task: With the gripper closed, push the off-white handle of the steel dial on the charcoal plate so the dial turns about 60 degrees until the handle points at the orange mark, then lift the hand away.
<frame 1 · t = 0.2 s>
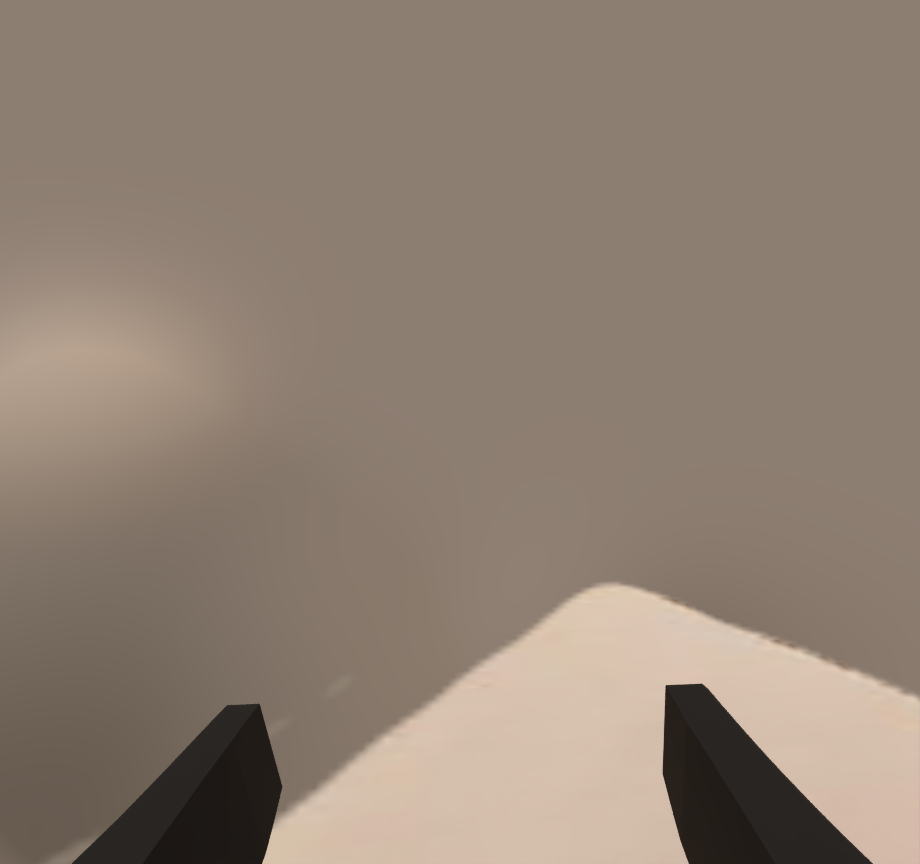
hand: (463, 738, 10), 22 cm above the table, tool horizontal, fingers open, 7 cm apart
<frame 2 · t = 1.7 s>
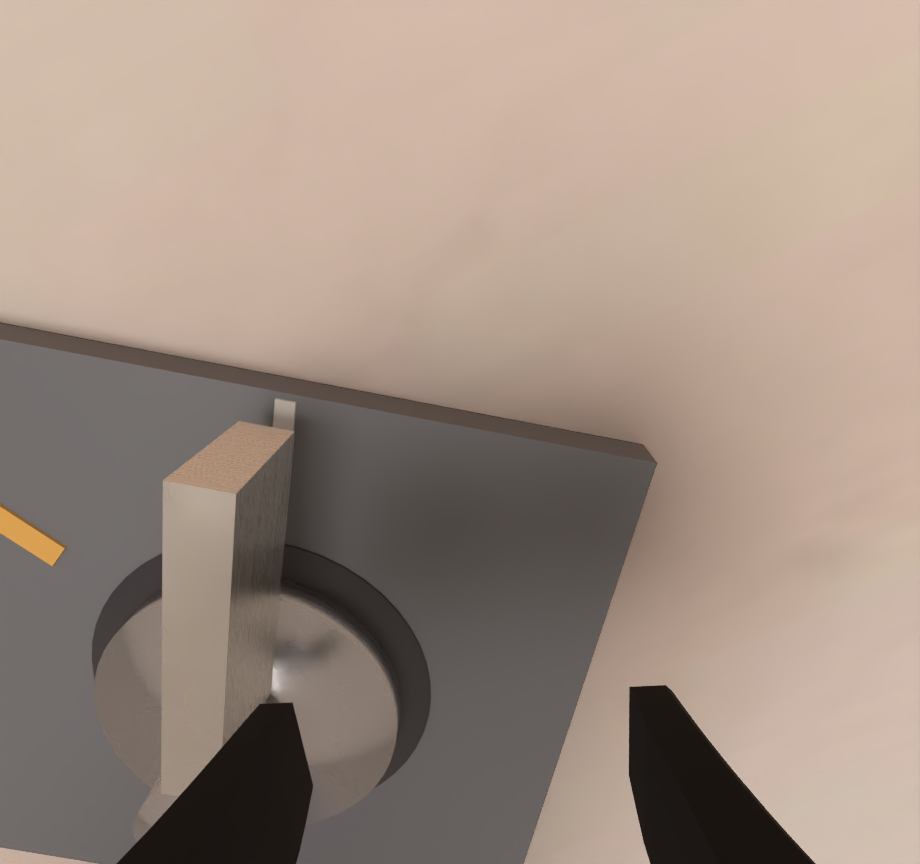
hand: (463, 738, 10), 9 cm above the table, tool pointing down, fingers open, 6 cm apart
dial: (232, 688, 16), point 4 cm above the table, hinge at 0.0°
dial plate: (276, 656, 21), on the table
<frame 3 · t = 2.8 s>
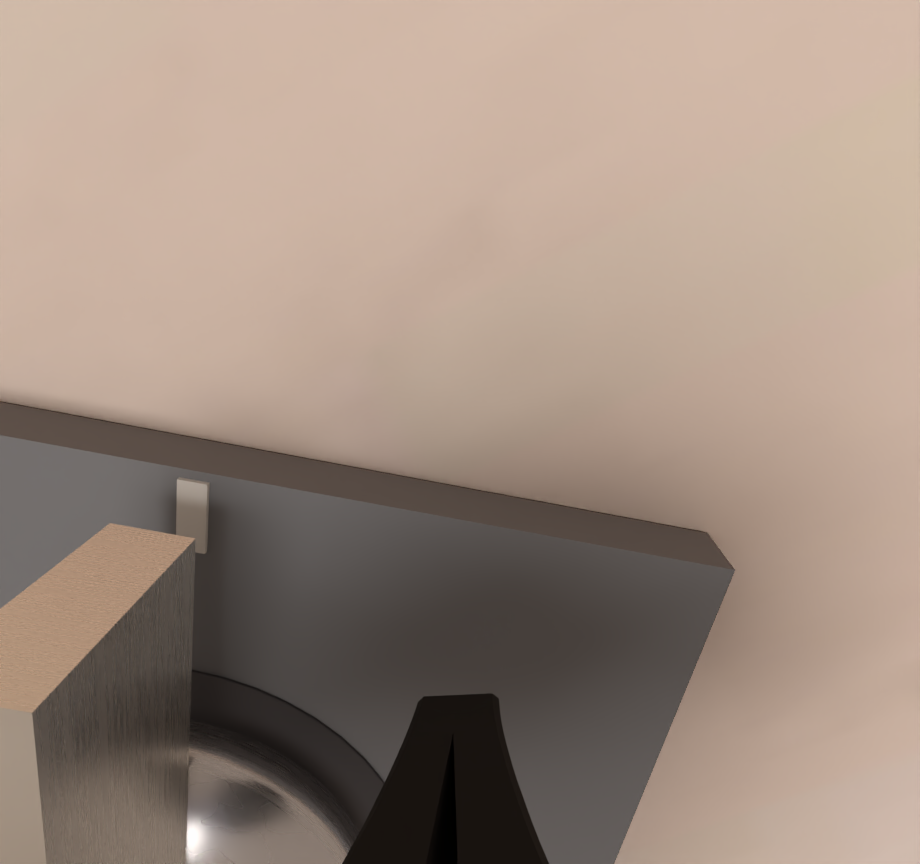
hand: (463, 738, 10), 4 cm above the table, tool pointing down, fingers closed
dial plate: (210, 794, 16), on the table
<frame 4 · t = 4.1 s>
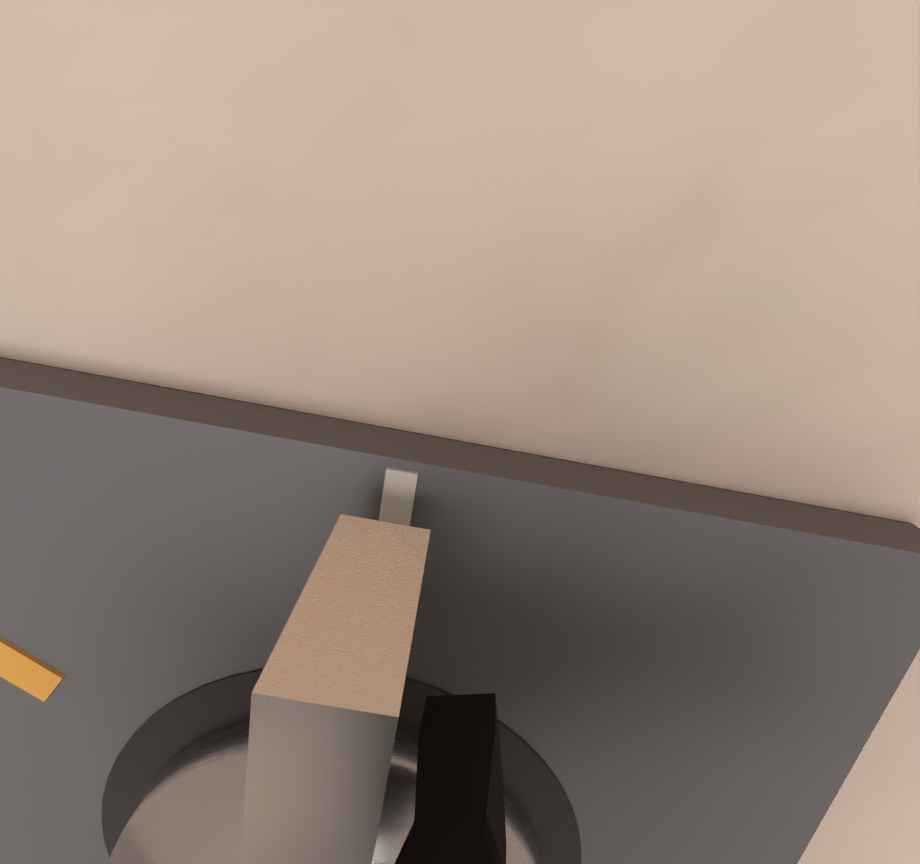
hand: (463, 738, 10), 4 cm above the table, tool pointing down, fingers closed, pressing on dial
dial plate: (354, 798, 16), on the table
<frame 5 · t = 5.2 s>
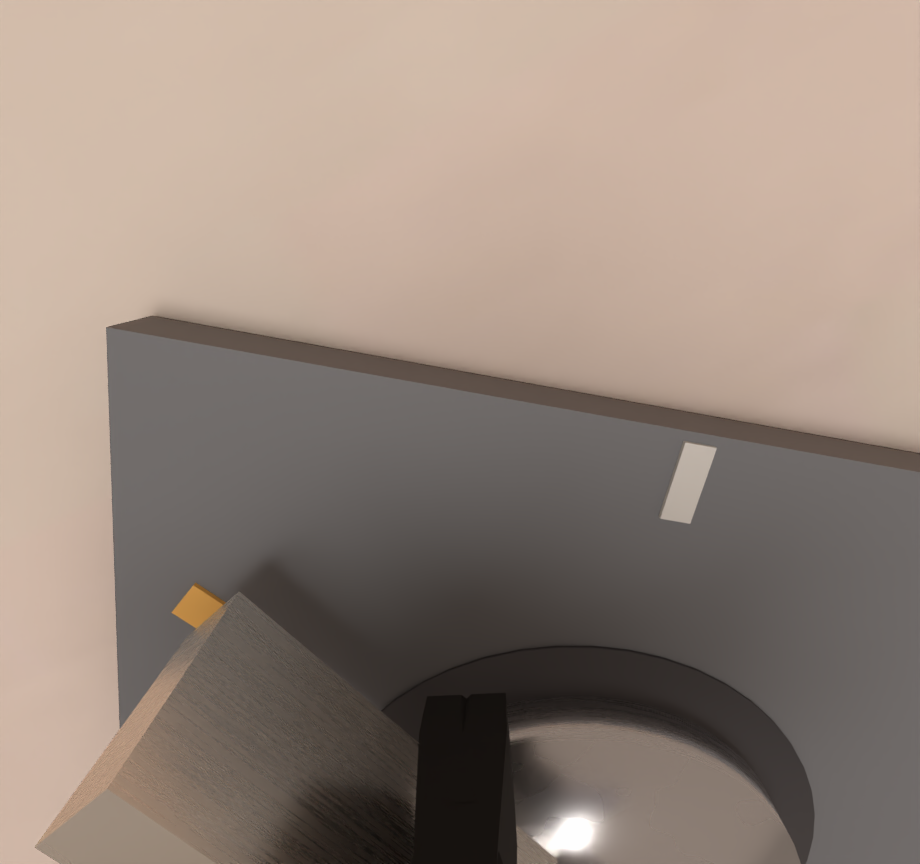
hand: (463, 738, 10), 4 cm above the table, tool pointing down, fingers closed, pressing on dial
dial plate: (555, 786, 15), on the table
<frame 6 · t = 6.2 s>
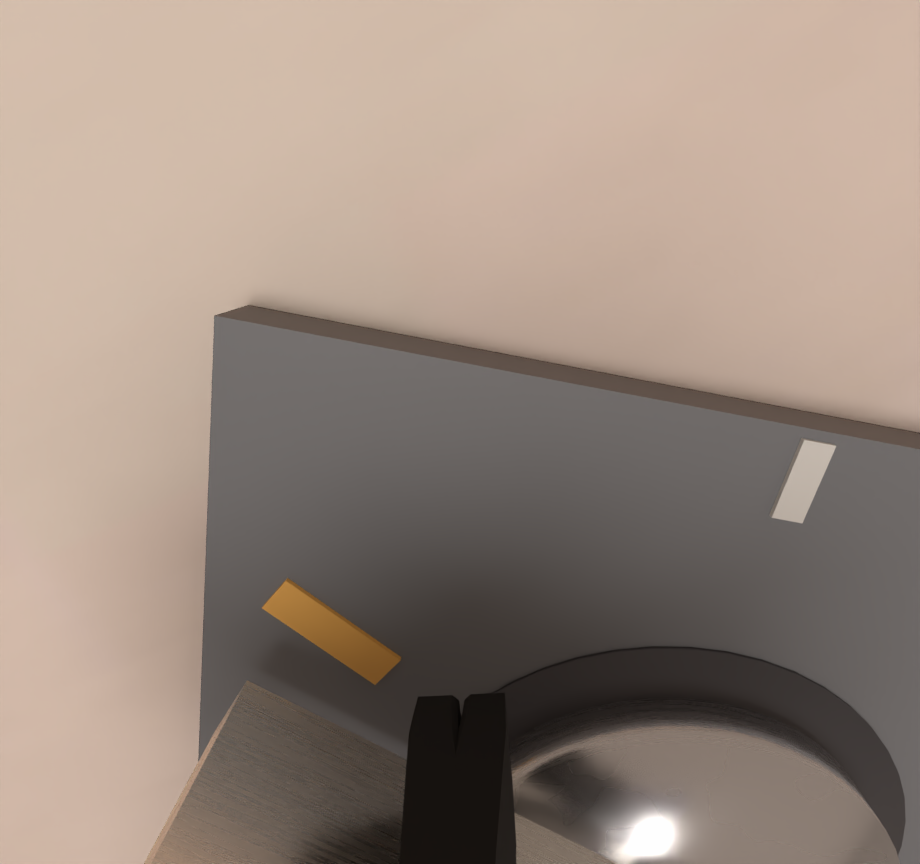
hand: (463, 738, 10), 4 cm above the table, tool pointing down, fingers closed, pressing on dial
dial plate: (628, 788, 15), on the table
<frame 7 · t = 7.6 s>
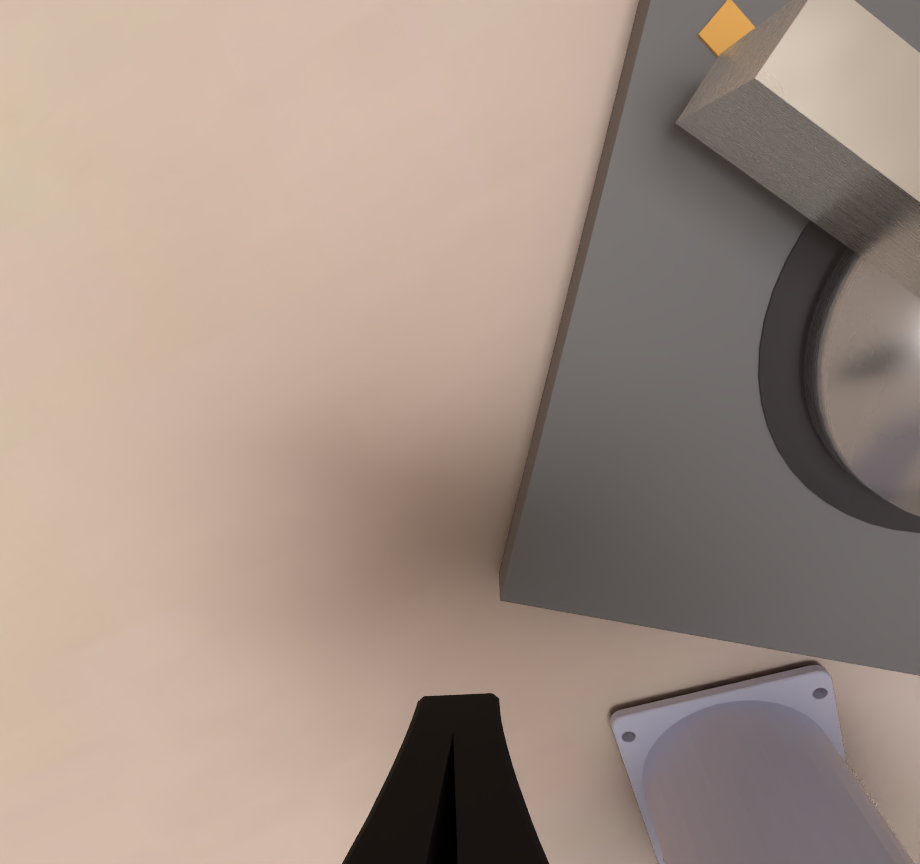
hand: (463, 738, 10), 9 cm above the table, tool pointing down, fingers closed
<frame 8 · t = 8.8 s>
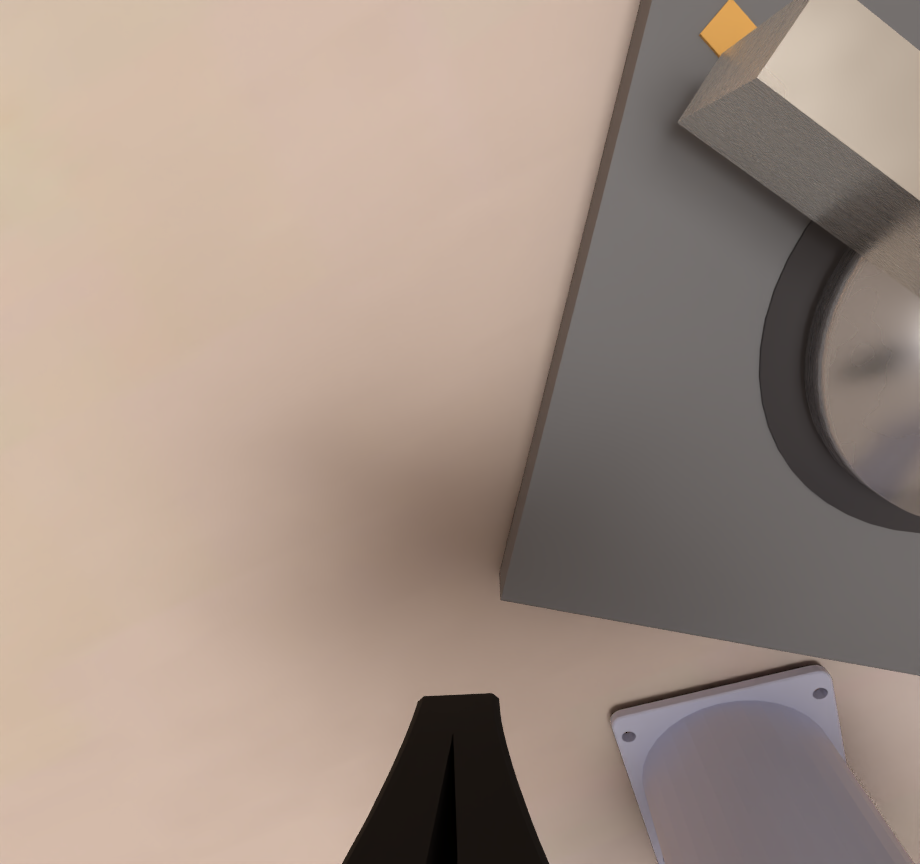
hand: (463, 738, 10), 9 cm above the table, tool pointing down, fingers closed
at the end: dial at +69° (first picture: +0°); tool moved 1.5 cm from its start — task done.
